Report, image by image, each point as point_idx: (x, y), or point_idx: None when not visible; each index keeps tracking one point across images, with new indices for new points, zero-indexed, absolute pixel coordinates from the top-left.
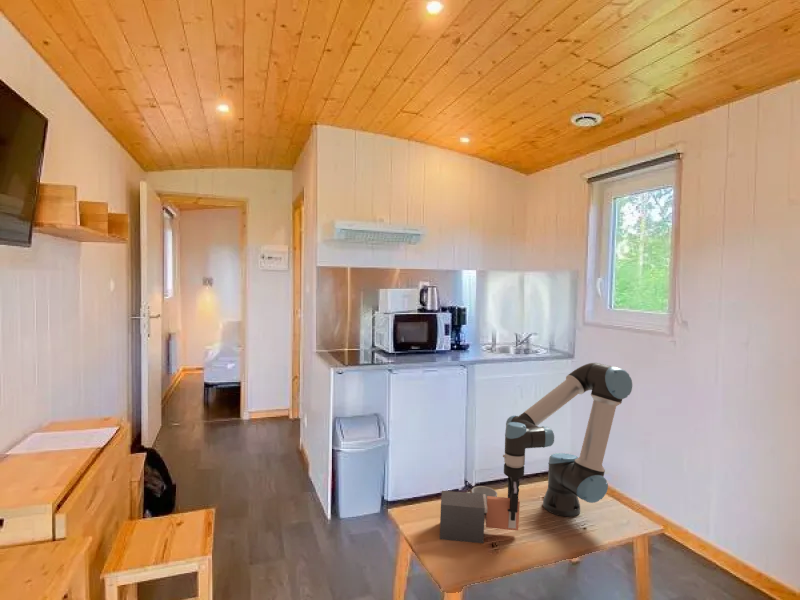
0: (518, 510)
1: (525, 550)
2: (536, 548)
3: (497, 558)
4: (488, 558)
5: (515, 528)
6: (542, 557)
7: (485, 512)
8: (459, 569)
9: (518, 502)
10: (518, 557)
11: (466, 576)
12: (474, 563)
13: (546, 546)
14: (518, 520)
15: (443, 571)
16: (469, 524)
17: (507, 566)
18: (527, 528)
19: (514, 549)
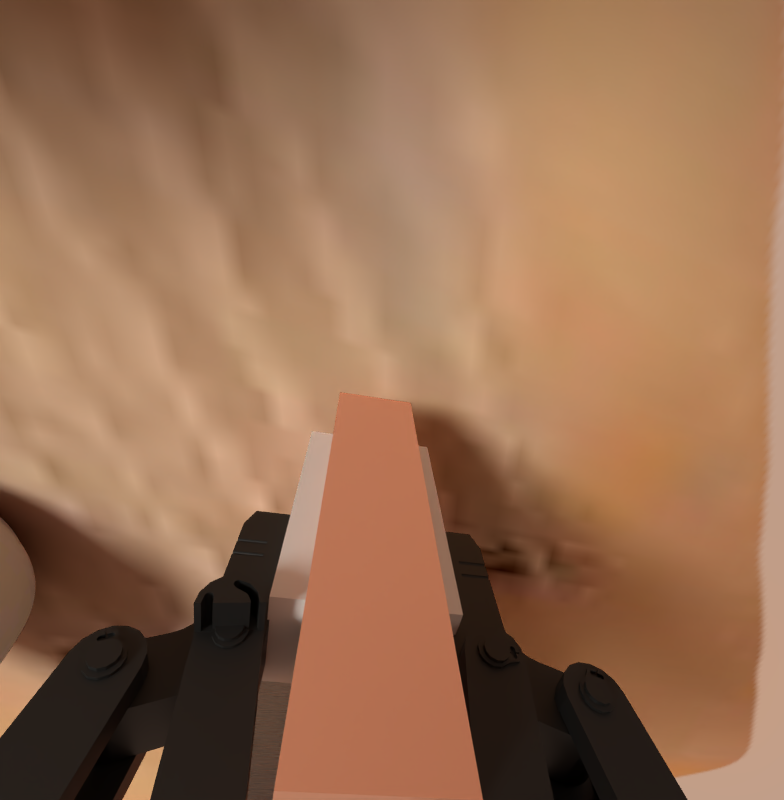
0: (440, 589)
1: (616, 374)
2: (612, 262)
3: (653, 570)
4: (637, 610)
5: (426, 449)
6: (759, 258)
7: (27, 556)
8: (682, 718)
9: (466, 785)
10: (687, 452)
11: (742, 703)
12: (659, 668)
13: (603, 128)
14: (421, 468)
15: (673, 759)
16: None
17: (751, 538)
18: (223, 220)
19: (582, 452)
